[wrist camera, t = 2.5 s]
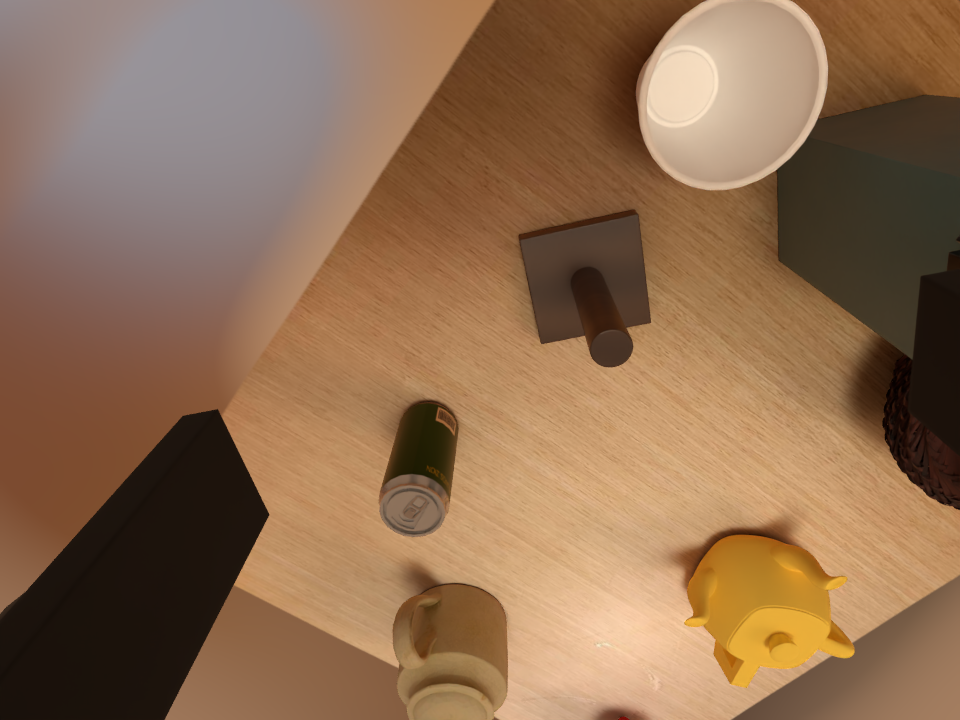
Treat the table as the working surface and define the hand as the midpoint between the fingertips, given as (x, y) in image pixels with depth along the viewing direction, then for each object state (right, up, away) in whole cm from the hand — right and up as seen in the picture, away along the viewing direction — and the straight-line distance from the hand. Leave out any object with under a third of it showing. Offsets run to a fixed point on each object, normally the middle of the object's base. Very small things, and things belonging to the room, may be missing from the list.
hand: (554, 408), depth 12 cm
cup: (+12, +20, +31) cm, 39 cm away
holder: (+7, +8, +37) cm, 38 cm away
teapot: (+25, -20, +50) cm, 60 cm away
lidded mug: (-5, -27, +55) cm, 61 cm away
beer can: (-6, -5, +44) cm, 45 cm away
